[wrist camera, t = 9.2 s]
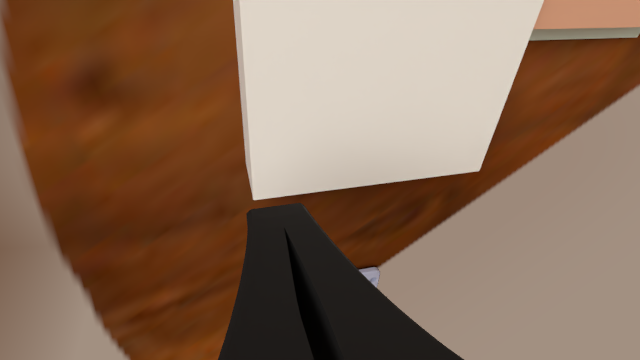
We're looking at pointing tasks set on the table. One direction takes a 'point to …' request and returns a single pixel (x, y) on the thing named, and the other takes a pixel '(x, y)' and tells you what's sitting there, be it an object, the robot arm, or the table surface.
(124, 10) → the table surface
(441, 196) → the table surface
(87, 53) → the table surface
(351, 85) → the white flat block
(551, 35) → the mat
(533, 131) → the table surface
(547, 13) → the tile
